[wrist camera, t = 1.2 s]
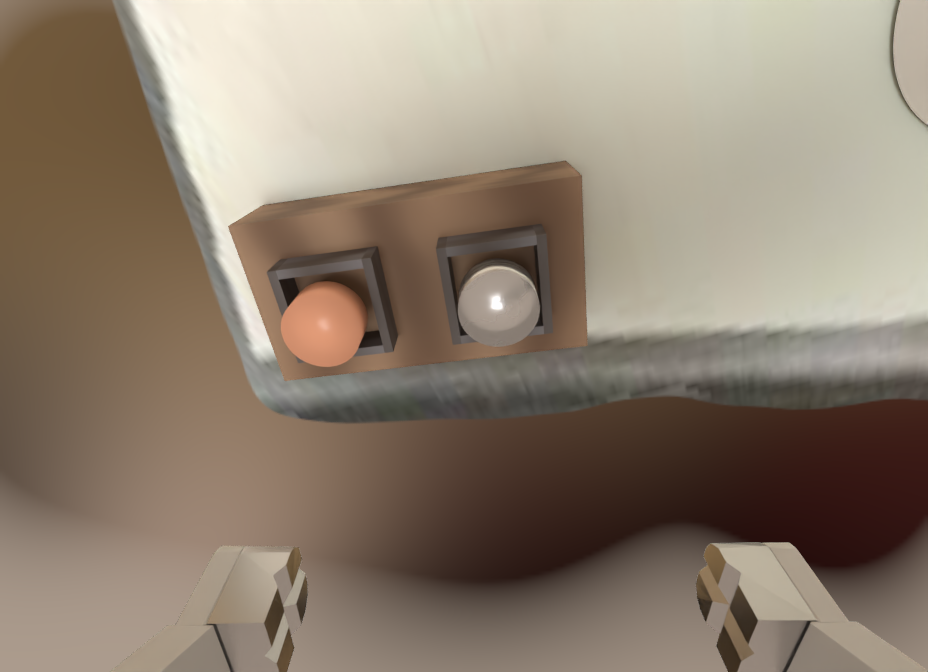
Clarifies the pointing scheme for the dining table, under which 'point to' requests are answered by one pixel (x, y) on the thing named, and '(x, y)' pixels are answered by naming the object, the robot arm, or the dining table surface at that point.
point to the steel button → (498, 303)
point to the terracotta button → (324, 324)
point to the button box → (422, 261)
